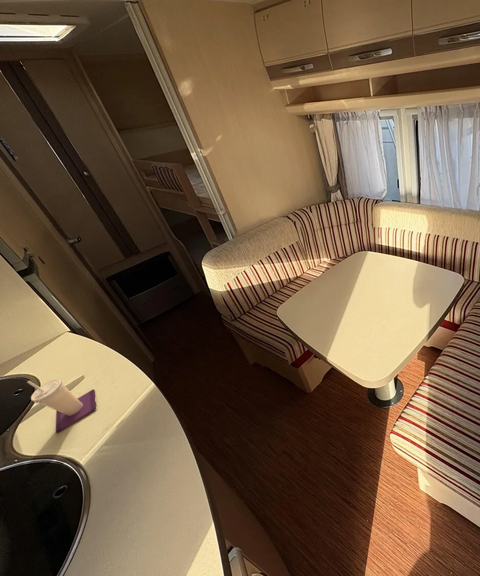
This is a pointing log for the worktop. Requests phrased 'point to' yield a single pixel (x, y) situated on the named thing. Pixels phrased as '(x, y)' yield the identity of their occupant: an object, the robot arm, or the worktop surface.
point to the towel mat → (88, 407)
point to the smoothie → (56, 397)
